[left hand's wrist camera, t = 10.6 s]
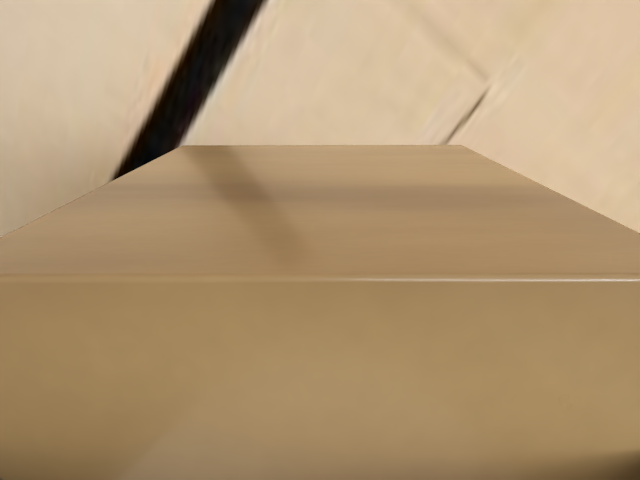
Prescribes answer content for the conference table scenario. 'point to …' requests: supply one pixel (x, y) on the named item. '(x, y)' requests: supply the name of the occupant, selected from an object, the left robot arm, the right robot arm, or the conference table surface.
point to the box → (320, 323)
